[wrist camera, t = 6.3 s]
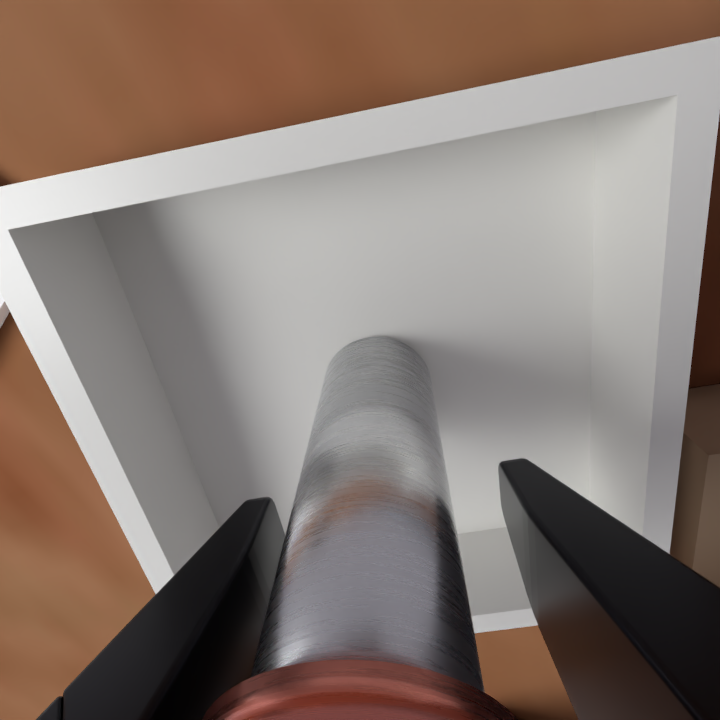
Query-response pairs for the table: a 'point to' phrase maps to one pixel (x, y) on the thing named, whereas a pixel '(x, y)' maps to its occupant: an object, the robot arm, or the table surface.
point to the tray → (386, 299)
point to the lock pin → (369, 564)
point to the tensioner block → (699, 486)
